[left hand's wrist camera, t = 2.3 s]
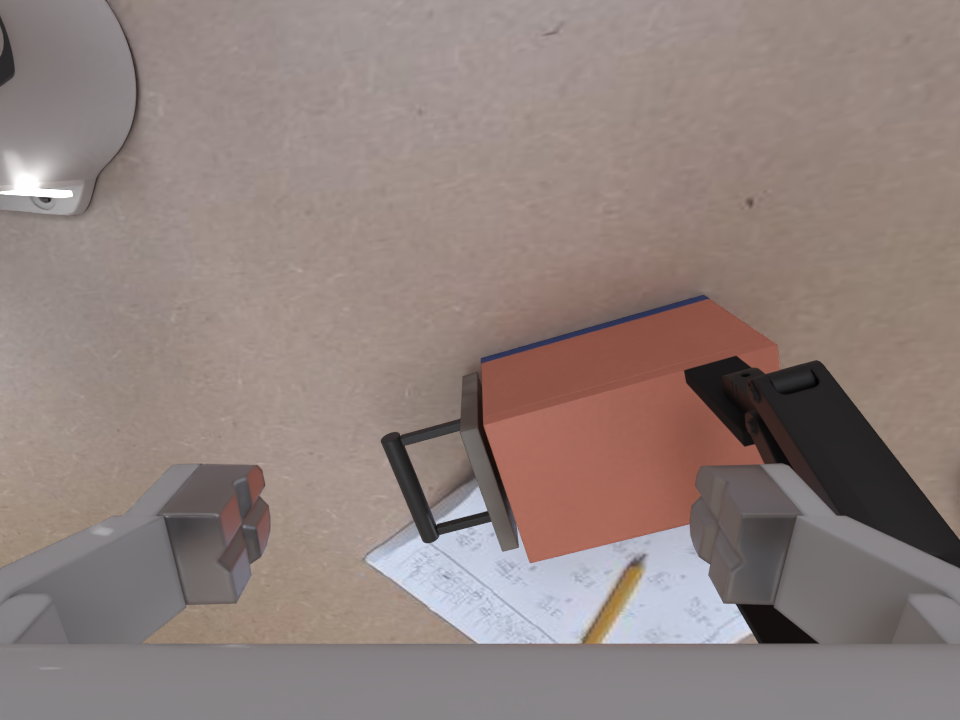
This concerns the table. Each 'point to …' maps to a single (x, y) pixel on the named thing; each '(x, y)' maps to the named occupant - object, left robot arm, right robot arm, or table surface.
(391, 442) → the drawer
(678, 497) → the cabinet
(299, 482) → the table surface
